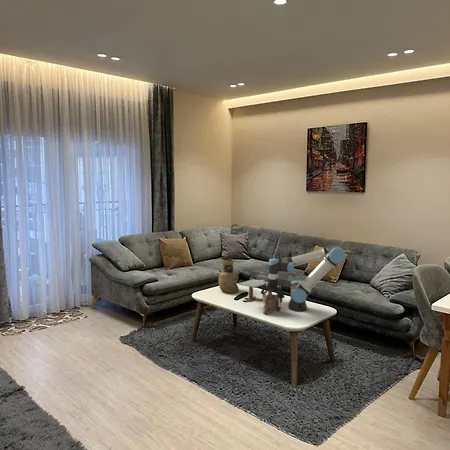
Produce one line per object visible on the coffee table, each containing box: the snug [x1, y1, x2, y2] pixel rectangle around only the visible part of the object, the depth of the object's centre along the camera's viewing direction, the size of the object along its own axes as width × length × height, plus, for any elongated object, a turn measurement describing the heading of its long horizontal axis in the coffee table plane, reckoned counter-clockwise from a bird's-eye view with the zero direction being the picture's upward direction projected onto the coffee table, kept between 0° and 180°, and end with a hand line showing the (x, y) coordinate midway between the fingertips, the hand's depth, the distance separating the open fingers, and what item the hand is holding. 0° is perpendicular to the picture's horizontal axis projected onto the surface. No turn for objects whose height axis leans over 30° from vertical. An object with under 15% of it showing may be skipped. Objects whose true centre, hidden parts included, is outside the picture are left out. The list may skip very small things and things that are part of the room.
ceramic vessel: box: [218, 258, 240, 294], centre depth 374 cm, size 19×21×30 cm
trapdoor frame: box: [245, 277, 273, 303], centre depth 344 cm, size 22×12×20 cm, turn 55°
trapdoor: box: [237, 274, 268, 289], centre depth 338 cm, size 16×33×7 cm, turn 145°
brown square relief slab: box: [263, 293, 282, 316], centre depth 318 cm, size 17×4×15 cm, turn 122°
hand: (272, 304), depth 318 cm, fingers open, 13 cm apart
